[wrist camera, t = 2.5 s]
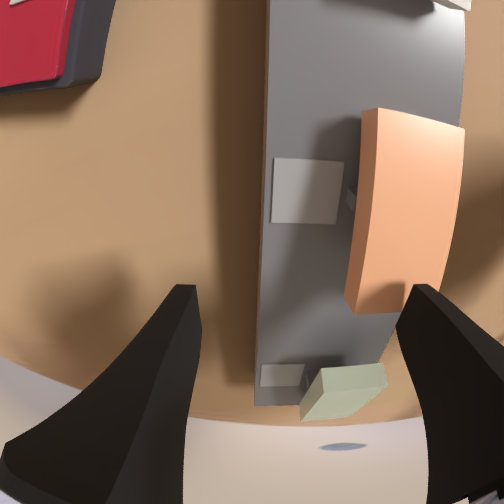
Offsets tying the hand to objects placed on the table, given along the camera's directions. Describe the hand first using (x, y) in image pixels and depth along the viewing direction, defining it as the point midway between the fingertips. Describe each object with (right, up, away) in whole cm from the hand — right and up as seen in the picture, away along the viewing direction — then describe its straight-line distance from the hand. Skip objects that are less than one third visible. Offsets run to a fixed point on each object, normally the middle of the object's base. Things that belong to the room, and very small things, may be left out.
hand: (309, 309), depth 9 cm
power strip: (+3, +10, +2) cm, 10 cm away
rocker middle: (+4, +3, 0) cm, 5 cm away
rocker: (+3, -7, +7) cm, 10 cm away
